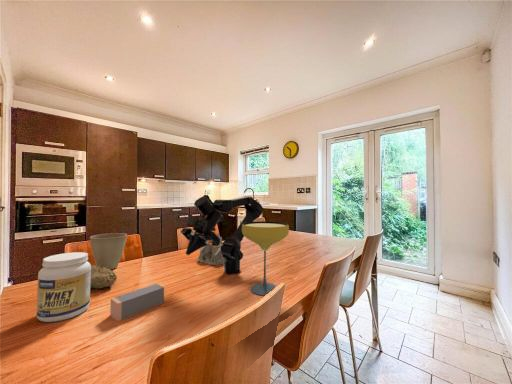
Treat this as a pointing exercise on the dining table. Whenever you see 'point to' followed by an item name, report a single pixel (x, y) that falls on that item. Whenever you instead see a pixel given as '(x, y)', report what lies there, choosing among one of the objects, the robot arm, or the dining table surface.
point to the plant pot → (108, 249)
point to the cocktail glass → (264, 244)
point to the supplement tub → (63, 286)
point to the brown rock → (101, 277)
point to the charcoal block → (136, 301)
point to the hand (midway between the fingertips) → (187, 254)
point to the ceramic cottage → (212, 253)
